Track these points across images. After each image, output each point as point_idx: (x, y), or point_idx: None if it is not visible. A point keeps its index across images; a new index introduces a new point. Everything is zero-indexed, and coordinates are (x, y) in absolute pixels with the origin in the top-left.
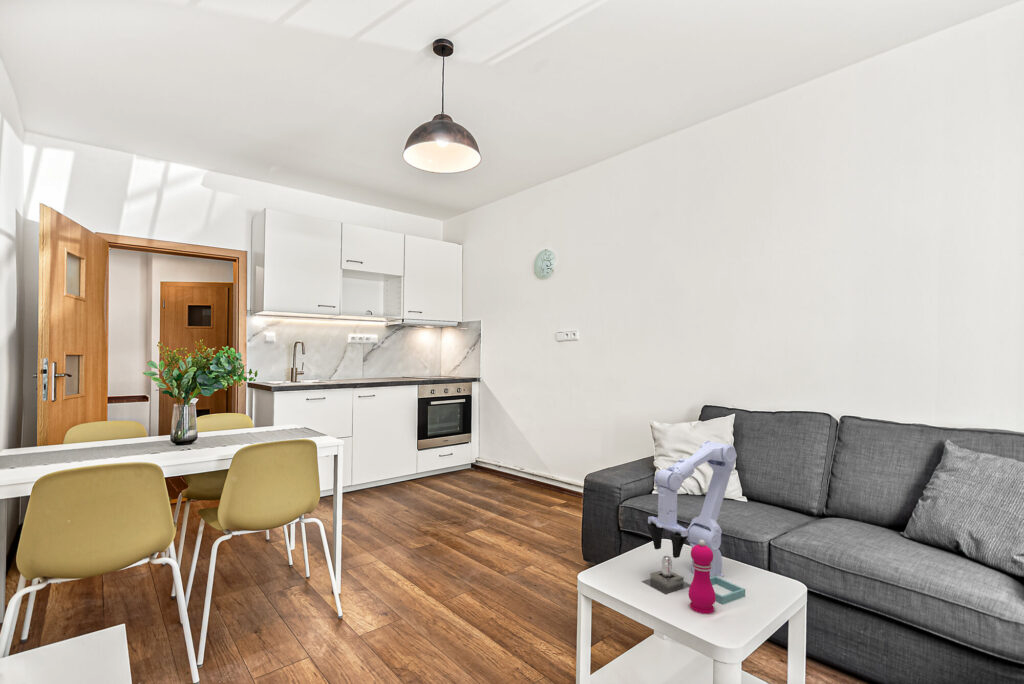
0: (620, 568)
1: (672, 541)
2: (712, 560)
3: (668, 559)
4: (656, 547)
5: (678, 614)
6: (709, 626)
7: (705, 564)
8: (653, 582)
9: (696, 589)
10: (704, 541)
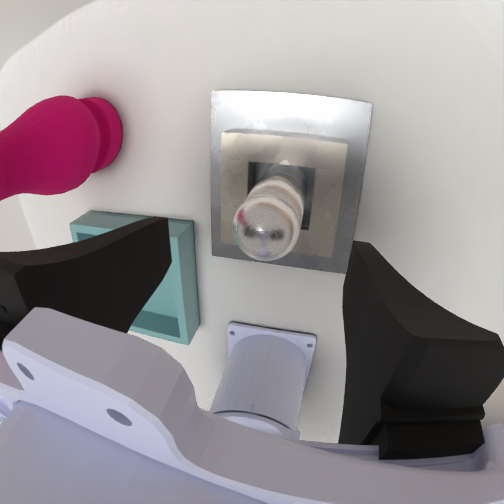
0: None
1: (68, 256)
2: None
3: (237, 221)
4: (354, 253)
5: (113, 47)
6: (44, 90)
7: None
8: (324, 136)
9: (25, 113)
10: None
